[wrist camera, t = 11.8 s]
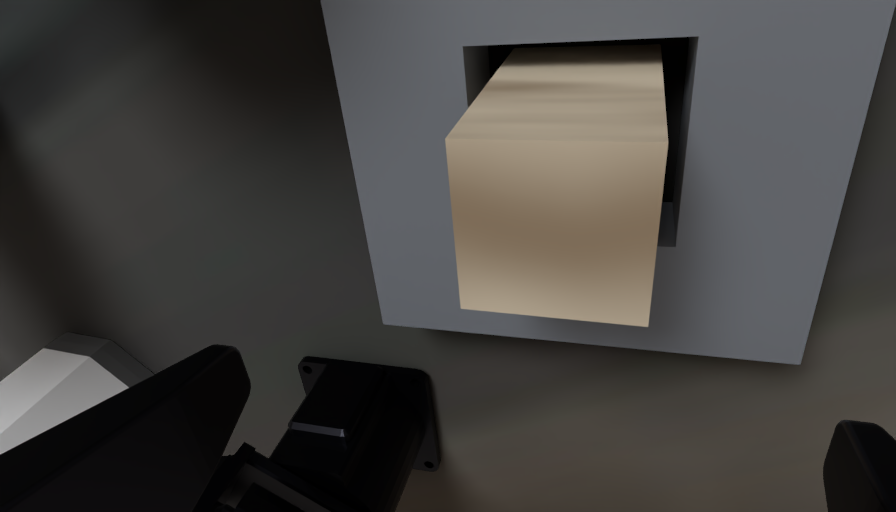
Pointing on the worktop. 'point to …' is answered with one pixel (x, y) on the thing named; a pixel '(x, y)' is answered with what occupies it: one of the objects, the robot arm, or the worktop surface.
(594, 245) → the maple peg
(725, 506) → the worktop surface
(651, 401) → the worktop surface
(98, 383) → the wine bottle
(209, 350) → the robot arm
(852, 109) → the socket block
